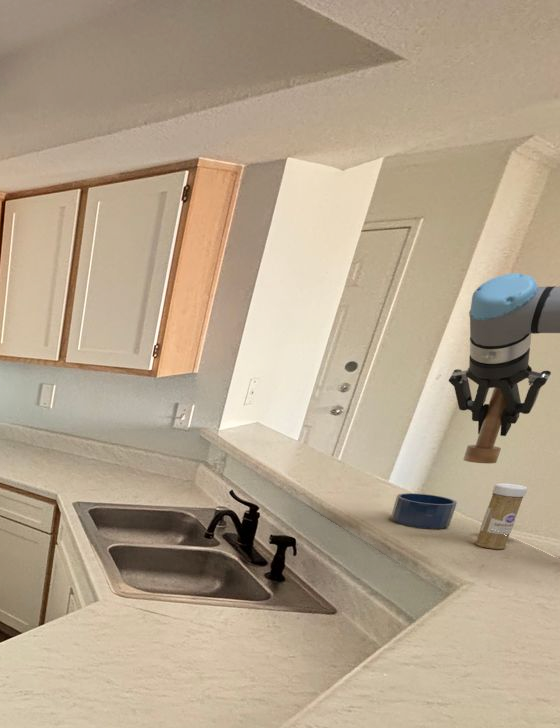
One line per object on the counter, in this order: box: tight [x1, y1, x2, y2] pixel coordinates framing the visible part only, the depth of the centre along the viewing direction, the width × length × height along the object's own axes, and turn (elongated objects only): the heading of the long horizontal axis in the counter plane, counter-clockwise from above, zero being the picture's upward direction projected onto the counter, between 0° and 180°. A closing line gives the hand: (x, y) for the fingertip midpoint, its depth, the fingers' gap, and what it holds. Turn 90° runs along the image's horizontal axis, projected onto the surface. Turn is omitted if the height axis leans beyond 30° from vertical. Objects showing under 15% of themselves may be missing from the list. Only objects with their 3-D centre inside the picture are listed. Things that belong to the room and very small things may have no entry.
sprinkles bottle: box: [474, 482, 528, 550], centre depth 122 cm, size 5×5×14 cm
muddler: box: [462, 388, 506, 464], centre depth 120 cm, size 5×5×18 cm
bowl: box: [390, 492, 458, 530], centre depth 139 cm, size 10×10×6 cm
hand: (494, 429), depth 123 cm, fingers closed on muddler, 3 cm apart
